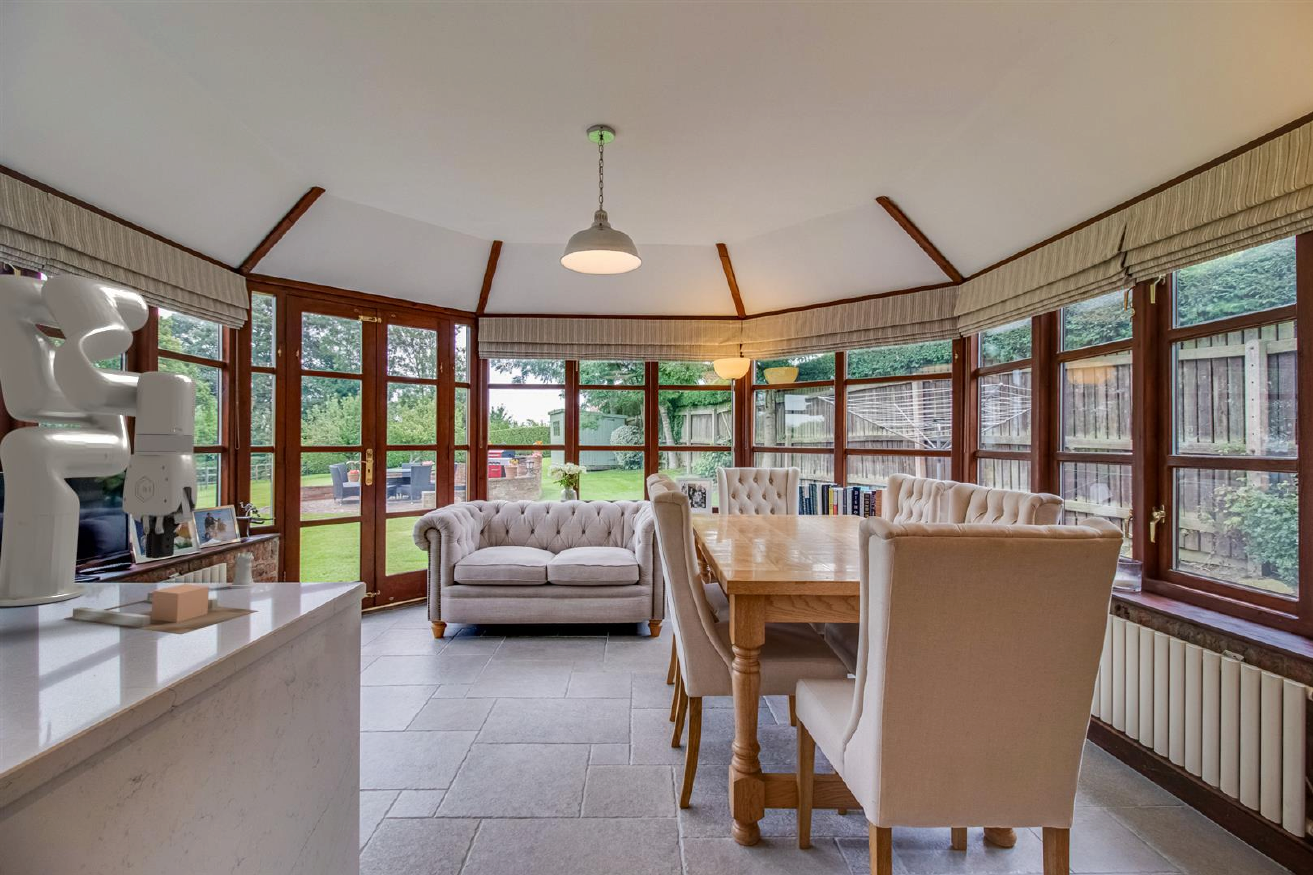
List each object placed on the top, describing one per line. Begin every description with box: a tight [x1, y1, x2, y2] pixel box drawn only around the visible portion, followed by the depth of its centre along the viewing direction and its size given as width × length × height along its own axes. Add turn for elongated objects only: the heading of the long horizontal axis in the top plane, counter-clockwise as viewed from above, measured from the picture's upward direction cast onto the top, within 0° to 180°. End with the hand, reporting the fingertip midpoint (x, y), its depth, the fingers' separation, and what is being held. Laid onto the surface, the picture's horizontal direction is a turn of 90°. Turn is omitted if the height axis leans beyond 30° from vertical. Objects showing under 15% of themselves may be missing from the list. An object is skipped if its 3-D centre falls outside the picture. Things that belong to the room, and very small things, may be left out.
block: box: [151, 583, 210, 622], centre depth 93 cm, size 5×5×4 cm
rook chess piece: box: [229, 551, 257, 590], centre depth 114 cm, size 4×4×8 cm
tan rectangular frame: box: [63, 590, 259, 635], centre depth 94 cm, size 23×13×3 cm, turn 78°
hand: (159, 556), depth 94 cm, fingers closed
